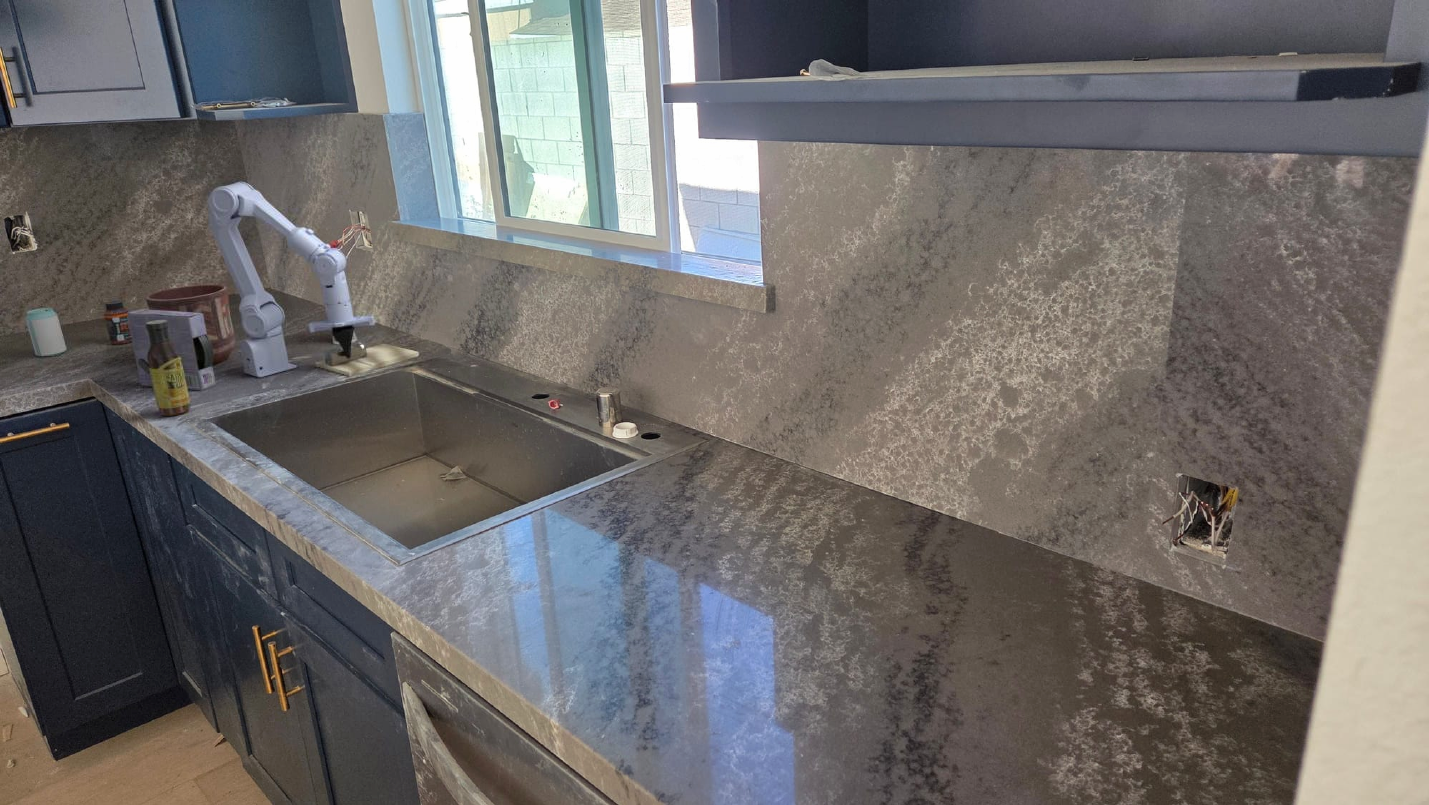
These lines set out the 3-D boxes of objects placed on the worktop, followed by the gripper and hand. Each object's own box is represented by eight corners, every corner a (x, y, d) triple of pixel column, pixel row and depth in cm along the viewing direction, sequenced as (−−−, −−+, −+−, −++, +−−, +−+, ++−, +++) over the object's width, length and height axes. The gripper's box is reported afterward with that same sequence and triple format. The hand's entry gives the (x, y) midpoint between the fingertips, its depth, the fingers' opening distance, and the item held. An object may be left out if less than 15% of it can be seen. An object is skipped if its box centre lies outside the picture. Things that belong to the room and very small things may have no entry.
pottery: (202, 374, 241) (186, 300, 235) (146, 370, 246) (129, 298, 241) (256, 354, 257) (242, 284, 251) (202, 350, 262) (187, 283, 256)
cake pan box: (222, 384, 232) (205, 310, 226) (205, 391, 227) (188, 316, 222) (157, 380, 238) (139, 308, 232) (140, 387, 233) (121, 313, 227)
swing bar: (363, 354, 246) (360, 340, 245) (369, 355, 245) (367, 342, 243) (327, 364, 239) (325, 350, 238) (333, 366, 237) (331, 352, 236)
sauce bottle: (178, 417, 211) (156, 326, 204) (152, 417, 212) (130, 326, 205) (199, 407, 217) (178, 318, 210) (174, 406, 218) (152, 317, 211)
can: (54, 349, 270) (42, 306, 266) (73, 351, 268) (61, 307, 264) (30, 357, 264) (17, 313, 260) (49, 358, 262) (36, 314, 258)
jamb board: (349, 376, 233) (347, 360, 232) (315, 366, 242) (312, 351, 241) (418, 355, 246) (416, 340, 245) (384, 347, 256) (381, 332, 254)
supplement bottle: (127, 344, 272) (117, 304, 268) (106, 345, 272) (95, 305, 268) (140, 338, 277) (130, 298, 274) (119, 339, 278) (108, 299, 274)
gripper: (301, 309, 230) (314, 365, 234) (366, 301, 232) (377, 357, 236) (307, 302, 237) (319, 357, 241) (371, 295, 239) (381, 350, 243)
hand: (348, 357), depth 239 cm, fingers closed, pressing on swing bar
